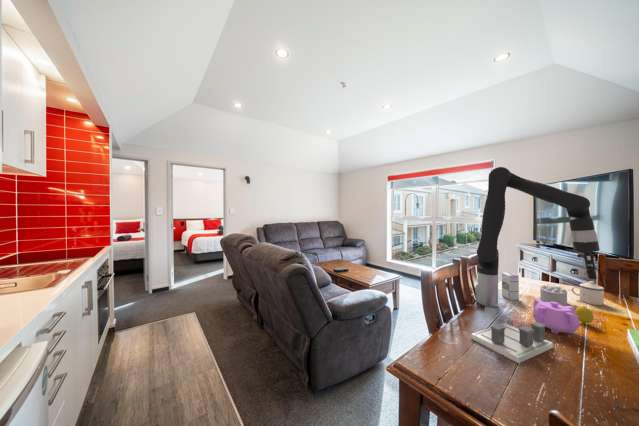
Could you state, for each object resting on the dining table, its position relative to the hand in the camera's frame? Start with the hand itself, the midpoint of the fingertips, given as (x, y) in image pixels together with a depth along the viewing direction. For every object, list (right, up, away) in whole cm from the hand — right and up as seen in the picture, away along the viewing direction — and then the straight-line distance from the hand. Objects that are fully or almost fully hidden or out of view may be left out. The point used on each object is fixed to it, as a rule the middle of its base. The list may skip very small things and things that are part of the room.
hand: (591, 276), depth 99 cm
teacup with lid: (+32, -22, +28) cm, 48 cm away
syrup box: (-7, -23, +34) cm, 41 cm away
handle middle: (-43, -21, -15) cm, 50 cm away
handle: (-36, -21, -12) cm, 43 cm away
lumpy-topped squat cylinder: (+12, -23, +27) cm, 37 cm away
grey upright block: (-53, -21, -14) cm, 58 cm away
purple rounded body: (-17, -23, 0) cm, 29 cm away
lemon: (+1, -23, +4) cm, 23 cm away
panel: (-45, -23, -11) cm, 52 cm away
